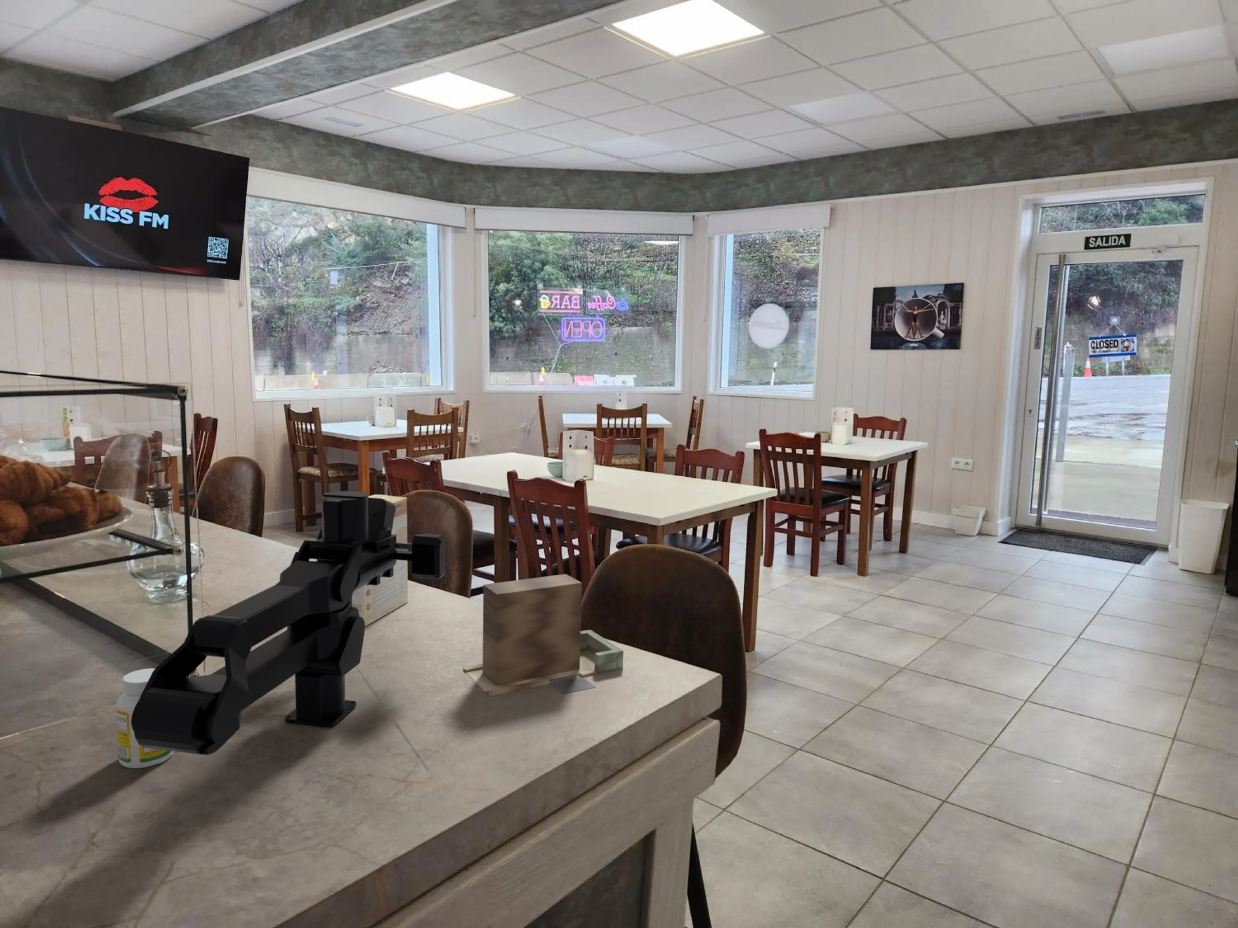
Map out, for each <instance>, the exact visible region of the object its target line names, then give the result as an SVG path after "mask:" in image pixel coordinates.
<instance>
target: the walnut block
mask: <svg viewBox="0 0 1238 928" xmlns="http://www.w3.org/2000/svg"><path fill="white" fill-rule="evenodd" d="M482 585H483V588H482V589H483V591H482V596H483V599H482V603H483V604H482V605H483V606H482V610H483V611H482V664H483V669H482V670H483V674H484V675H485V676H486V677H487V678H488V679H489V680H490V681H492V682H493V683H494V684H495V685H496V686H498V685H503V684H508V683H513V682H518V681H523V680H528V679H533V678H539V677H544V676H549V675H554V674H559V673H564V672H569V671H574V670H579V669H580V635H581V631H582V630H581V629H582V628H581V626H582V624H581V623H582V594H583V593H582V592H583V588H582V587H583V586H582V585H583V583H582V582H581V581H579V580H577V579H576V578H574V577H572V576H570V575H568V574H566V573H563V574H556V575H548V576H541V577H532V578H524V579H517V580H511V581H503V582H494V583H493V582H492V583H485V584H482Z"/></svg>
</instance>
